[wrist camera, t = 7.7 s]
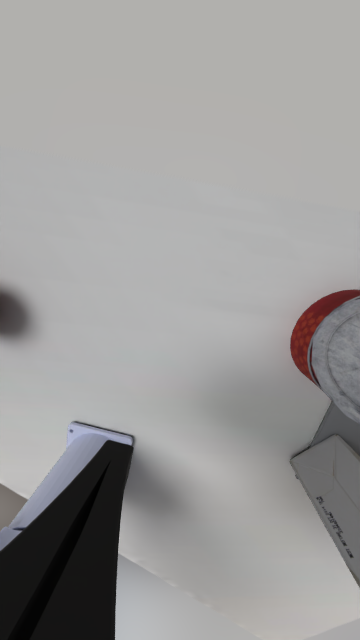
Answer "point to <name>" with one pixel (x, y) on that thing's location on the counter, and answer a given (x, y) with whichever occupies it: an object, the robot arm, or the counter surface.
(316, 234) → the counter surface
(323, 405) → the counter surface
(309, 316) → the canned food
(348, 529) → the coffee box
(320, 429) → the mat
